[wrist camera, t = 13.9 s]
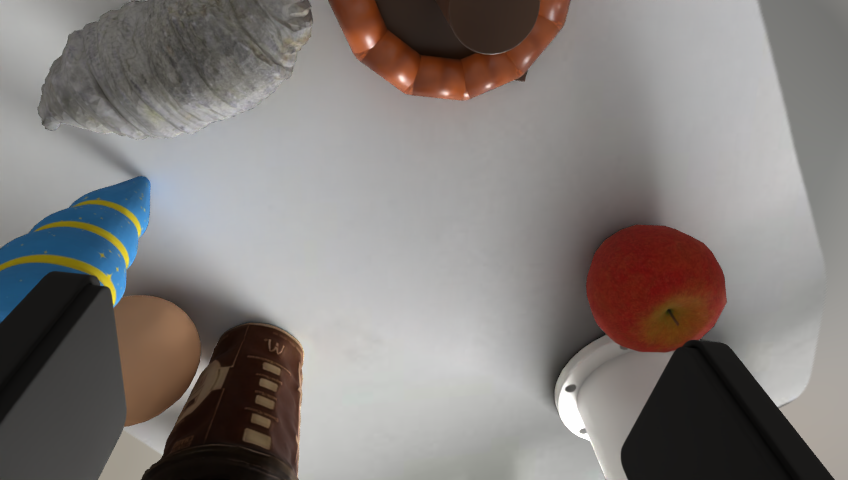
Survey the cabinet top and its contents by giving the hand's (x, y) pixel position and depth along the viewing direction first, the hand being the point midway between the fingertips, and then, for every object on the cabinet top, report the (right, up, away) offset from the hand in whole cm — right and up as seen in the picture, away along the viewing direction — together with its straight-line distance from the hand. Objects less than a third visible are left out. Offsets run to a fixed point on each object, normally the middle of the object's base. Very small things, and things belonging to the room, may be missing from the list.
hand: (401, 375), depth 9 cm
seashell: (-12, +12, +19) cm, 26 cm away
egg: (-18, -3, +28) cm, 33 cm away
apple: (+14, +2, +28) cm, 32 cm away
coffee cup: (-12, -6, +31) cm, 33 cm away
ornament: (-16, +6, +23) cm, 29 cm away
